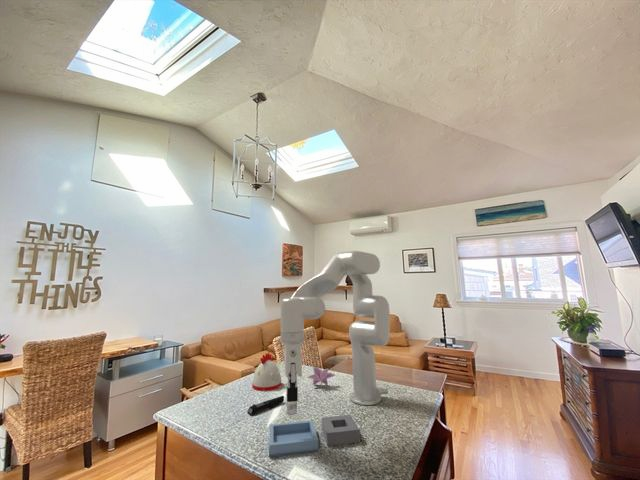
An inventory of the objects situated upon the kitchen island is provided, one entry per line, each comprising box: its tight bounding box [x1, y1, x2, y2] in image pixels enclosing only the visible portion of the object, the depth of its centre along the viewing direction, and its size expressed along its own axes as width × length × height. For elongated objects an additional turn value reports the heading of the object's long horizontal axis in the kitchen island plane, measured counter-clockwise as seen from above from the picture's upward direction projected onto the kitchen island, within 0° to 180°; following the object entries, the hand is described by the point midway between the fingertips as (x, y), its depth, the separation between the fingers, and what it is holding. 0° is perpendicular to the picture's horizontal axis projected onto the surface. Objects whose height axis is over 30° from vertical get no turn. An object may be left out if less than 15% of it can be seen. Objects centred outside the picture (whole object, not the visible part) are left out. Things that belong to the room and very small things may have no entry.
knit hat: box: [251, 352, 282, 392], centre depth 133 cm, size 14×14×15 cm
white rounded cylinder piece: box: [286, 377, 298, 416], centre depth 85 cm, size 3×3×10 cm
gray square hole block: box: [320, 414, 360, 447], centre depth 87 cm, size 10×10×4 cm
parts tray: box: [268, 419, 319, 458], centre depth 83 cm, size 14×12×3 cm
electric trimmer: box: [247, 395, 285, 417], centre depth 108 cm, size 4×16×3 cm, turn 132°
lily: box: [307, 366, 336, 388], centre depth 129 cm, size 12×12×10 cm
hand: (291, 398), depth 85 cm, fingers closed on white rounded cylinder piece, 3 cm apart
